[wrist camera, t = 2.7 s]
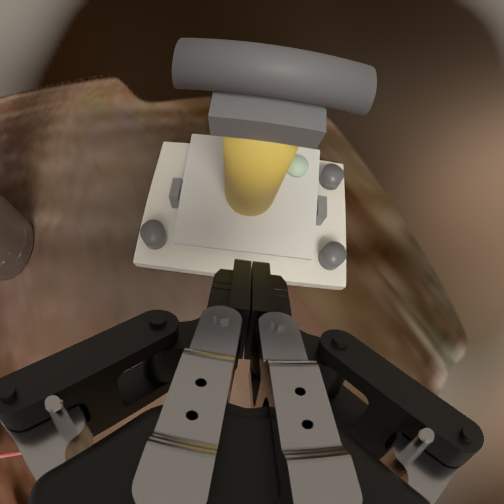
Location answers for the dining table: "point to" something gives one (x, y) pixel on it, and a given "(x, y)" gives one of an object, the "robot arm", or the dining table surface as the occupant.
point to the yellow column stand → (260, 142)
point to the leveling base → (212, 260)
